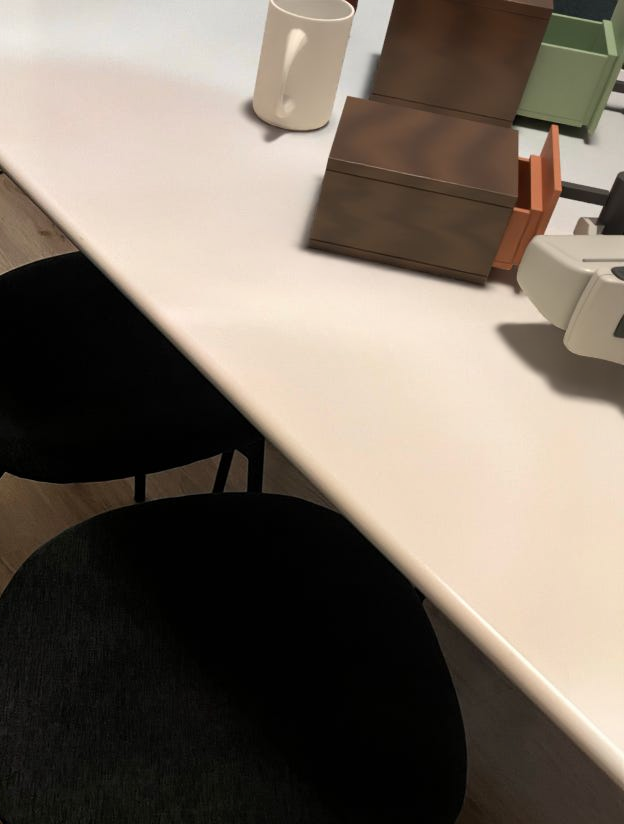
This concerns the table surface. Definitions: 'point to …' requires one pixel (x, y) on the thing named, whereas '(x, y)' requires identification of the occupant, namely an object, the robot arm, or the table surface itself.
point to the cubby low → (417, 190)
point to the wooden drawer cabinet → (461, 56)
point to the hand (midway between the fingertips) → (603, 225)
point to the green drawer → (576, 70)
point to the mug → (301, 62)
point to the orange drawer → (552, 201)
